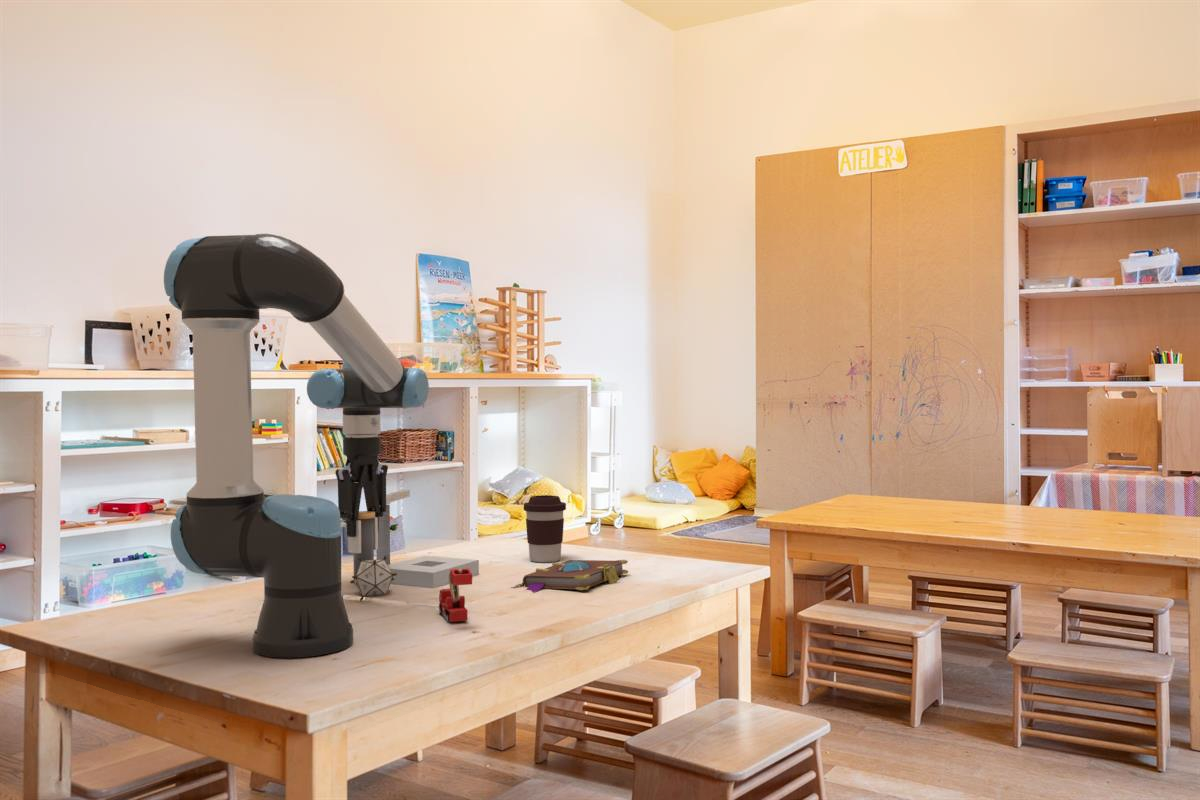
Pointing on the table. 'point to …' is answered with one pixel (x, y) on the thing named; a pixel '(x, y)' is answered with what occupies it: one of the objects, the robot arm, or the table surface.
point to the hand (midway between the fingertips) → (363, 550)
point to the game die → (373, 577)
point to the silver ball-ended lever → (397, 496)
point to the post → (384, 536)
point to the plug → (365, 538)
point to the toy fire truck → (455, 596)
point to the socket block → (429, 570)
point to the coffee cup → (544, 527)
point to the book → (575, 575)
